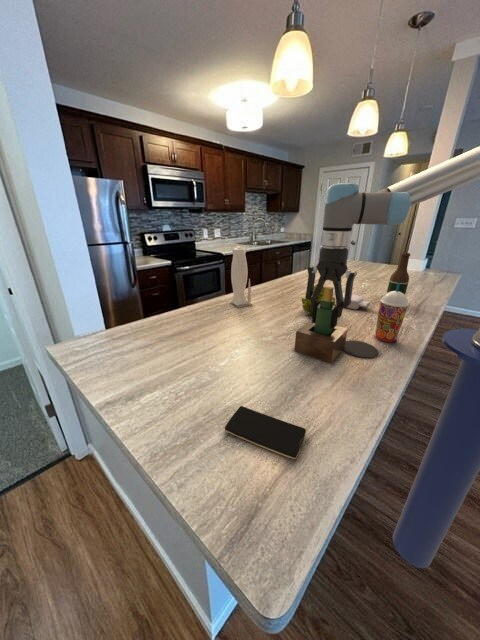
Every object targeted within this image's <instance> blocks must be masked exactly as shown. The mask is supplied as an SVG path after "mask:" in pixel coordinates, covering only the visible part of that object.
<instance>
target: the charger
mask: <svg viewBox="0 0 480 640" xmlns="http://www.w3.org/2000/svg"><path fill="white" fill-rule="evenodd" d="M342 293H343V301H344V297H345V292H342ZM335 305H336V306H337V303H335ZM373 306H374V304H372V303H371V302H370V301H366V300H365V298H364V296H362V295H357V294H353V293H352V296H351V303H350V305H349V306H348V307H345V308H347V309H351V310H355V311H356V310H358V309H360V308H365V309H367V308H369V307H370V308H372V307H373Z"/></svg>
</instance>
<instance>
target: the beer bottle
mask: <svg viewBox="0 0 480 640" xmlns="http://www.w3.org/2000/svg"><path fill="white" fill-rule="evenodd" d="M410 257H411V253H410V252H401V253H400V258H399V262H398V265H397V267H396V270H394V272H392V274H391V275H390V277H389V282H388V284H387V285H388V286H387V290H386V293H388V292H391V291H396V288H397V284H398V283H400V286H399V290H398V291H399V292H402V293H403V294H404V295H405V296H406V293H407V290H408V286H409V281H410V275H409V272H408V266H409V261H410Z"/></svg>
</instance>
